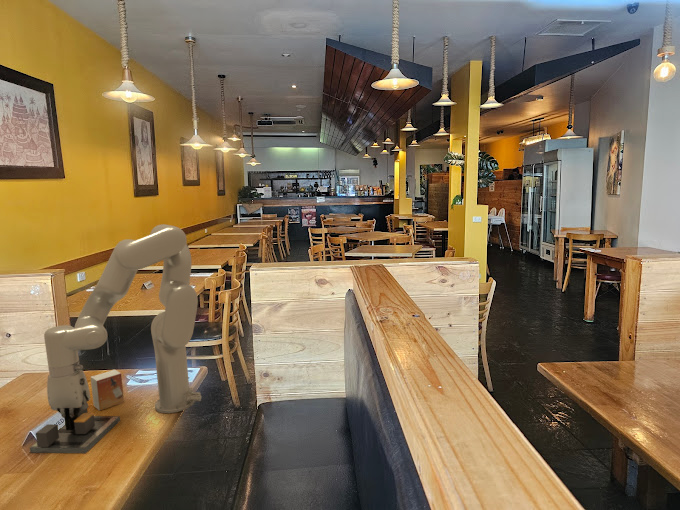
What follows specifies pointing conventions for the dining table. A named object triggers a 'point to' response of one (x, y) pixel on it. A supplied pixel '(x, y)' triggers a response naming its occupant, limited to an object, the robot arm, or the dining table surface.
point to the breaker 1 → (47, 435)
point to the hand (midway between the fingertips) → (72, 427)
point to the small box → (107, 389)
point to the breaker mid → (84, 423)
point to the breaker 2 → (82, 412)
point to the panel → (79, 437)
